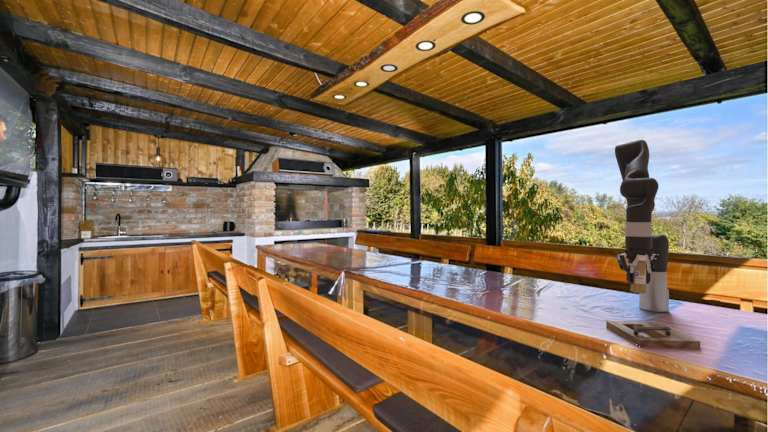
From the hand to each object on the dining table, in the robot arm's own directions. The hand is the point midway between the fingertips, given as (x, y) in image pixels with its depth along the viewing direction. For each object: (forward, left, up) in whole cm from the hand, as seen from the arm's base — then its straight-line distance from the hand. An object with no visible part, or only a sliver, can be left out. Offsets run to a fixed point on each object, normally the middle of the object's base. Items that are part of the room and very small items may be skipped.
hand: (638, 282), depth 115 cm
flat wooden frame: (-2, +3, -18) cm, 18 cm away
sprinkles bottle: (0, 0, -3) cm, 3 cm away
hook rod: (0, +7, -16) cm, 17 cm away
